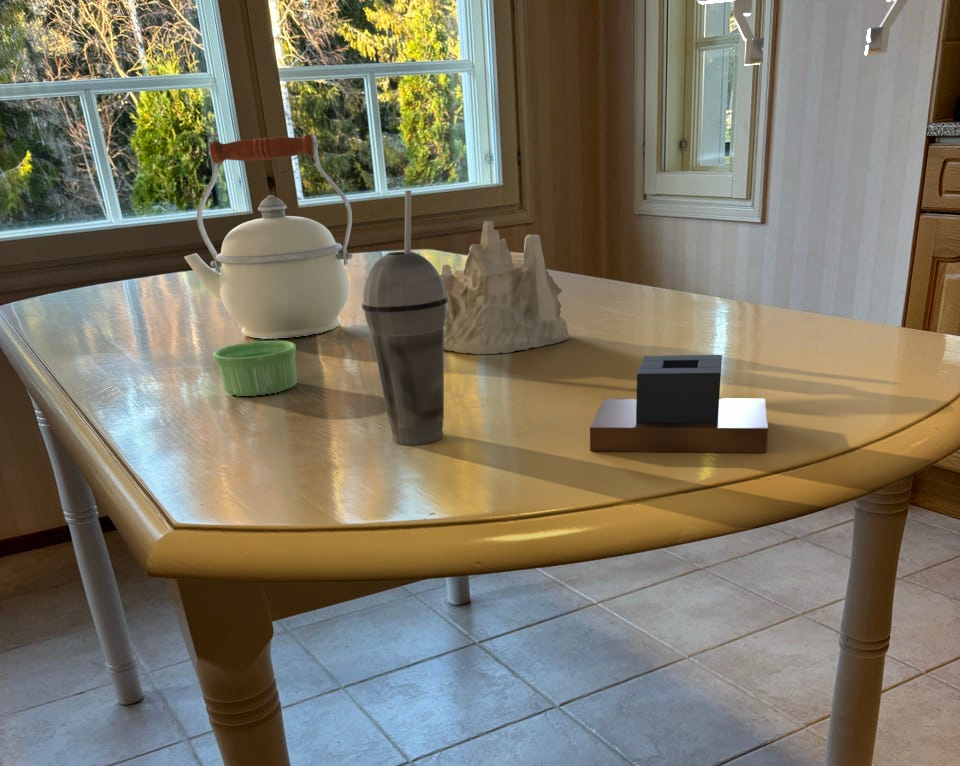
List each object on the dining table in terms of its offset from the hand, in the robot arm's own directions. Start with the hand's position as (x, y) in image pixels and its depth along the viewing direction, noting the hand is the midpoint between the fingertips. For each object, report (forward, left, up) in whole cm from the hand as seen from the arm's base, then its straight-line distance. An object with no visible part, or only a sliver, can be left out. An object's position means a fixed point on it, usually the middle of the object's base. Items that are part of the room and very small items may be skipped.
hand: (813, 59), depth 75 cm
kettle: (+69, -37, -27) cm, 83 cm away
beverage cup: (+32, +15, -27) cm, 45 cm away
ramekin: (+56, -3, -27) cm, 62 cm away
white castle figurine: (+34, -27, -27) cm, 51 cm away
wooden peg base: (+9, +14, -27) cm, 32 cm away
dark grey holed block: (+9, +14, -25) cm, 30 cm away
